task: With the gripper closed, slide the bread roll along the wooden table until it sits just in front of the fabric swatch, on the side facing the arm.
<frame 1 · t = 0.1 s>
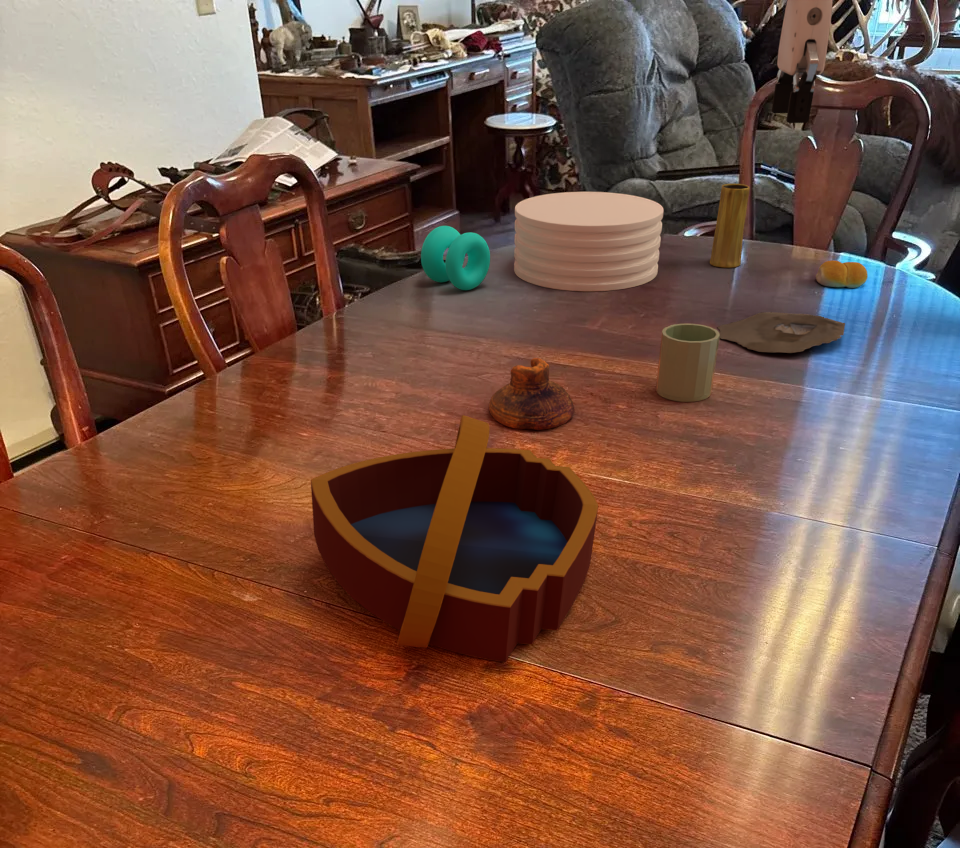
hand: (789, 117, 145), 30 cm above the table, tool pointing down, fingers open, 9 cm apart
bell: (531, 415, 131), on the table
plate stack: (585, 271, 187), on the table
bread roll: (839, 284, 179), on the table
vase: (724, 265, 190), on the table
fabric swatch: (778, 336, 156), on the table
decorative basket: (453, 570, 99), on the table
donuts: (456, 286, 180), on the table
teacup: (683, 391, 137), on the table
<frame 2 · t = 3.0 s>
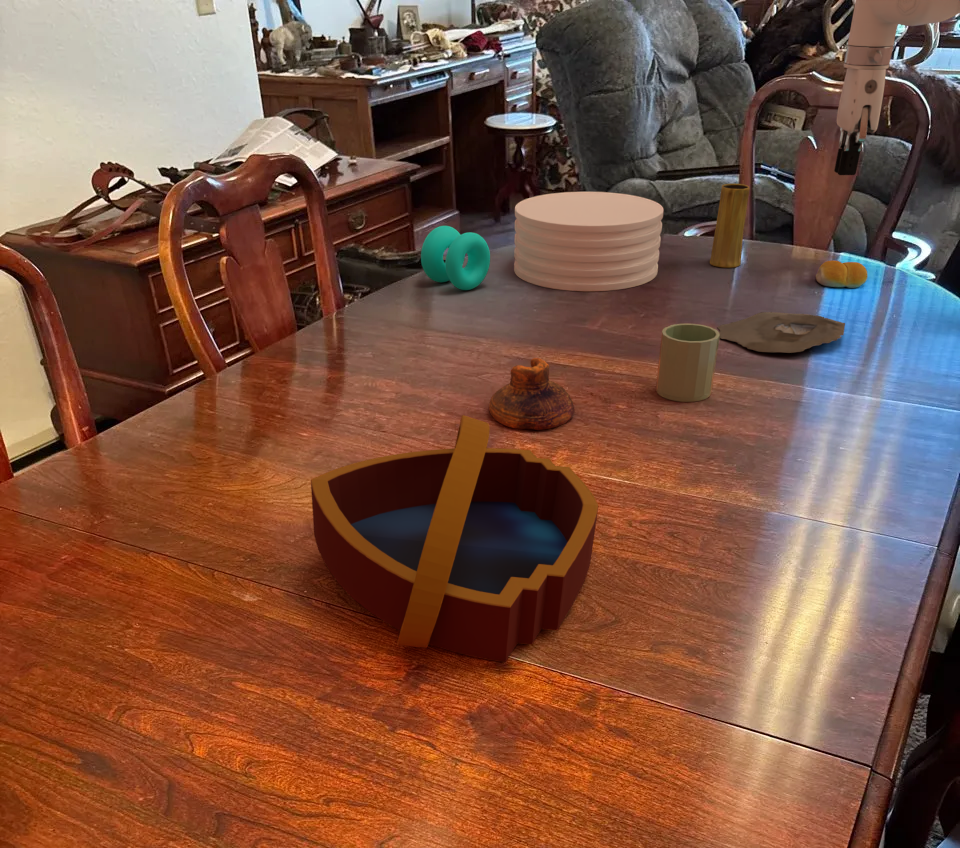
hand: (844, 173, 176), 17 cm above the table, tool pointing down, fingers closed
nothing on the table moved.
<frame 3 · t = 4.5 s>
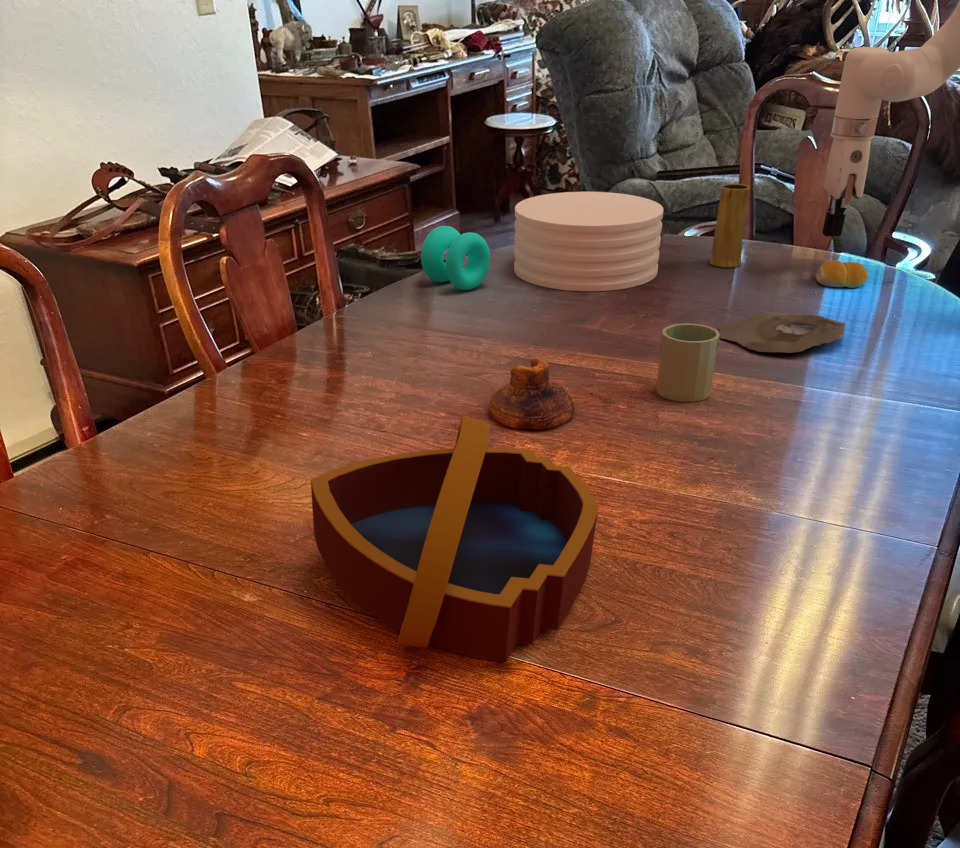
hand: (831, 235, 183), 6 cm above the table, tool pointing down, fingers closed
nothing on the table moved.
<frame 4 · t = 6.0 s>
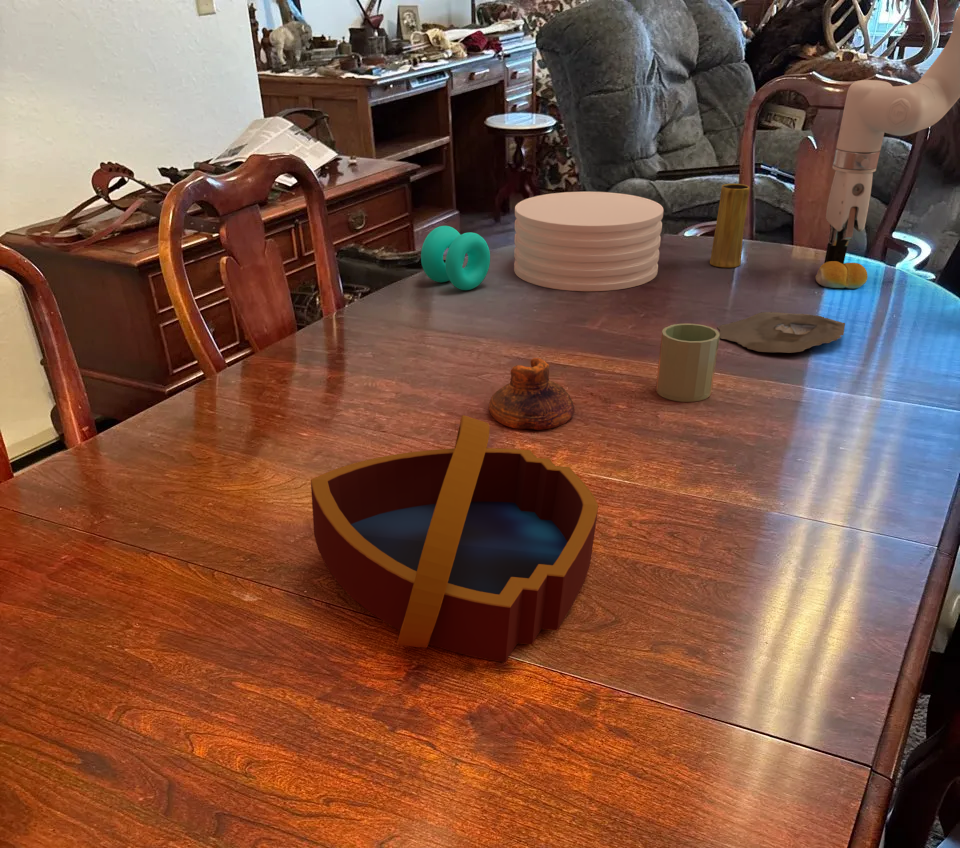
hand: (833, 266, 182), 2 cm above the table, tool pointing down, fingers closed
bread roll: (839, 284, 178), on the table, touching gripper
everything else where it was.
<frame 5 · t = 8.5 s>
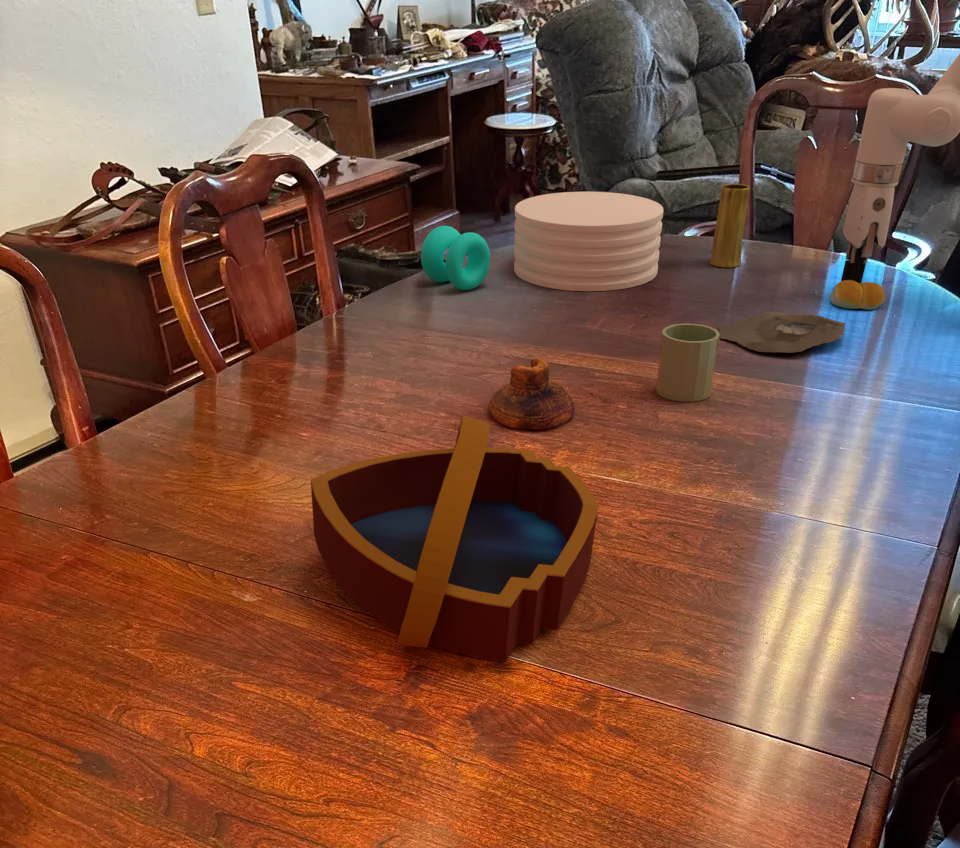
hand: (850, 284, 172), 2 cm above the table, tool pointing down, fingers closed
bread roll: (854, 305, 169), on the table, touching gripper
everything else where it was.
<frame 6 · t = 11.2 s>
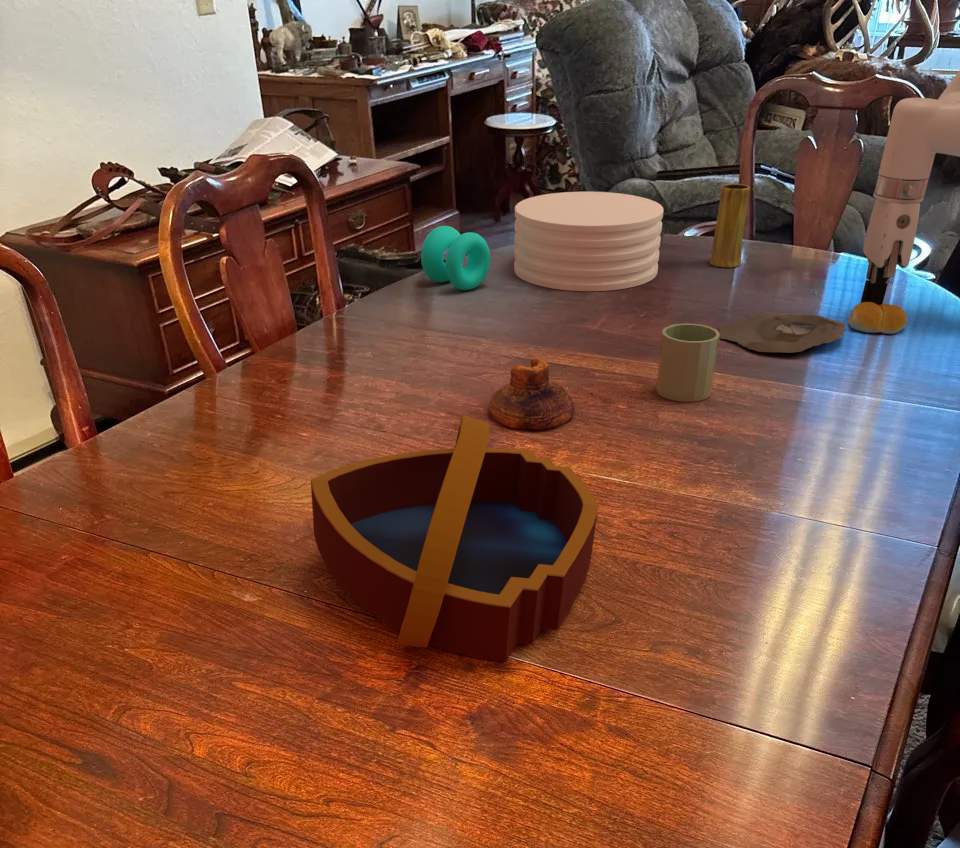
hand: (870, 305, 161), 2 cm above the table, tool pointing down, fingers closed
bread roll: (874, 328, 159), on the table, touching gripper
everything else where it was.
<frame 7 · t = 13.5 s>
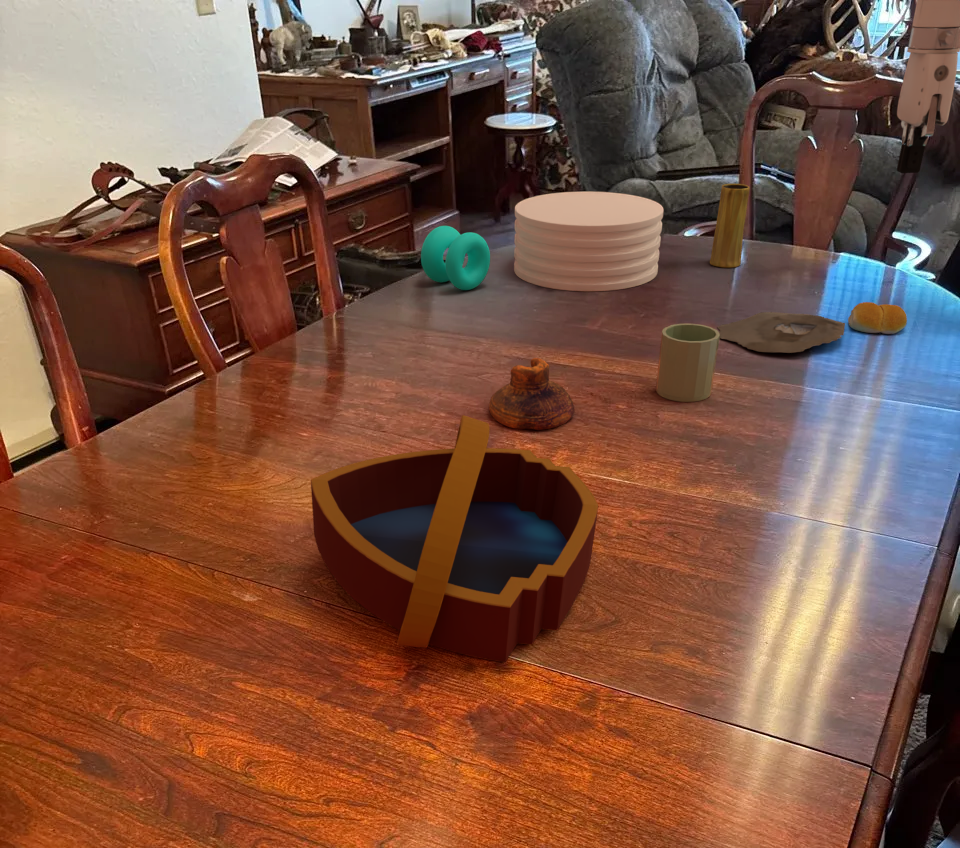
hand: (907, 171, 157), 21 cm above the table, tool pointing down, fingers closed
bread roll: (874, 328, 159), on the table
everything else where it was.
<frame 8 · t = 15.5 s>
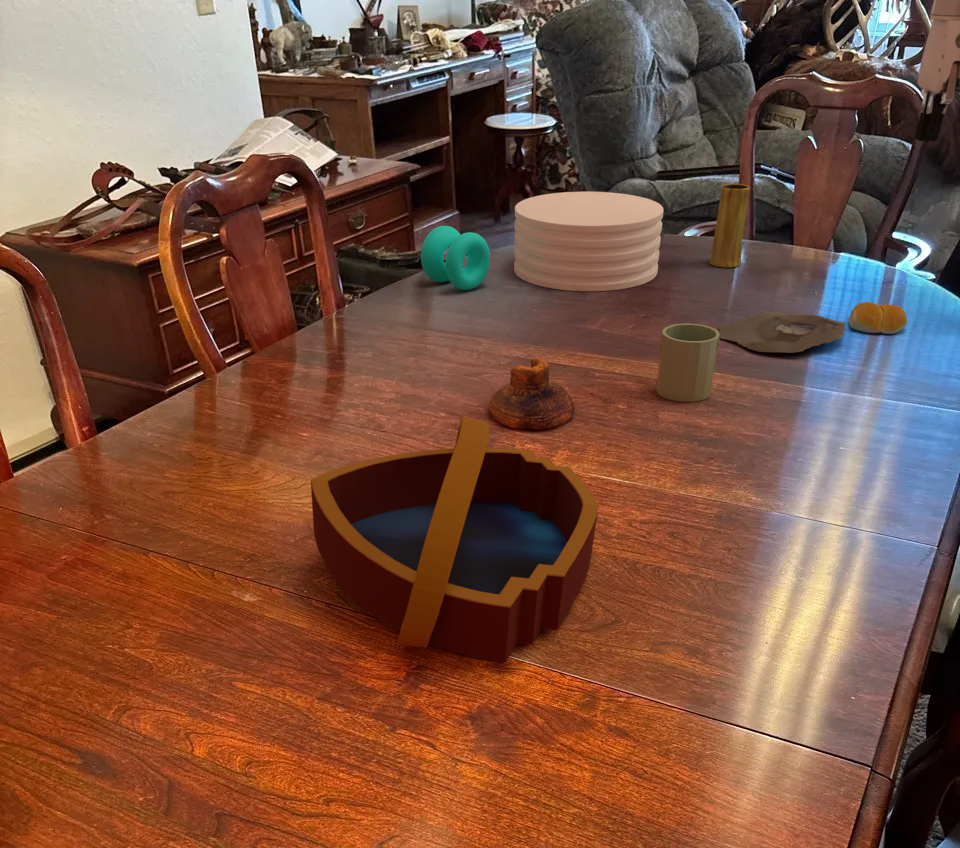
hand: (926, 139, 158), 25 cm above the table, tool pointing down, fingers closed
nothing on the table moved.
at the end: bread roll inside the target area on the table beside the fabric swatch (2.5 cm from its centre), on the table; bread roll moved 25.4 cm from its start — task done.
